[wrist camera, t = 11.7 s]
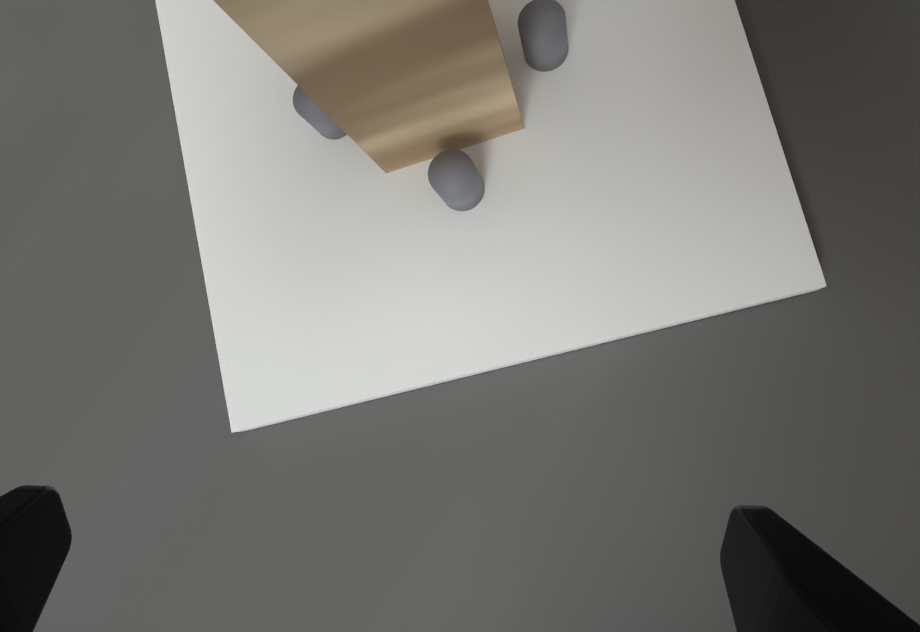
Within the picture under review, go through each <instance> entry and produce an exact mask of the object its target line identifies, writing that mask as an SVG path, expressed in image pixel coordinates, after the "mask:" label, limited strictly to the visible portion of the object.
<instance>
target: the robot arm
mask: <svg viewBox="0 0 920 632" xmlns="http://www.w3.org/2000/svg"><path fill="white" fill-rule="evenodd" d="M71 539H72V535H71V529H70V526H69V523H68V520H67V516H66V513H65V510H64V507H63V504H62V501H61V498H60V495H59V493H58V491H57V490H56V489H55V488H54V487H50V486H33V485H26V486H20V487H17V488H15V489H13V490H12V491H10V492H8V493H6V494H4V495H2V496H0V632H33V630H34V628H35V626H36V624H37V621H38V619H39V617H40V615H41V613H42V610H43V608H44V606H45V604H46V601H47V599H48V597H49V595H50V592H51V590H52V588H53V586H54V583H55V581H56V579H57V577H58V574H59V572H60V570H61V568H62V565H63V563H64V561H65V559H66V557H67V554H68V552H69V549H70V545H71ZM720 562H721V569H722V574H723V578H724V582H725V586H726V590H727V594H728V598H729V602H730V606H731V610H732V614H733V618H734V622H735V626H736V630H737V632H920V625H919V624H918V623H917V622H915V621H914V620H913V619H911V618H910V617H909V616H908V615H906V614H905V613H904V612H902V611H901V610H900V609H899V608H897V607H896V606H895V605H893V604H892V603H891V602H890V601H888V600H887V599H886V598H884V597H883V596H882V595H881V594H879V593H878V592H877V591H875V590H874V589H873V588H872V587H870V586H869V585H868V584H866V583H865V582H864V581H863V580H861V579H860V578H859V577H857V576H856V575H855V574H854V573H852V572H851V571H850V570H848V569H847V568H846V567H845V566H843V565H842V564H841V563H839V562H838V561H837V560H836V559H834V558H833V557H832V556H830V555H829V554H828V553H827V552H825V551H824V550H823V549H821V548H820V547H819V546H818V545H816V544H815V543H814V542H812V541H811V540H810V539H809V538H807V537H806V536H805V535H803V534H802V533H801V532H800V531H798V530H797V529H796V528H794V527H793V526H792V525H791V524H789V523H788V522H787V521H785V520H784V519H783V518H782V517H780V516H779V515H778V514H776V513H775V512H774V511H773V510H771V509H769V508H768V507H765V506H752V505H738V506H736V507H734V508H733V509H732V511H731V513H730V517H729V521H728V524H727V528H726V532H725V536H724V540H723V544H722V548H721V554H720Z"/></svg>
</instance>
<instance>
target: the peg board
mask: <svg viewBox="0 0 920 632" xmlns="http://www.w3.org/2000/svg"><path fill="white" fill-rule="evenodd" d="M155 1H156V6H157V12H158V18H159V23H160V29H161V35H162V40H163V46H164V52H165V57H166V63H167V69H168V74H169V80H170V86H171V91H172V97H173V103H174V108H175V114H176V120H177V125H178V131H179V137H180V142H181V148H182V154H183V159H184V165H185V171H186V176H187V182H188V188H189V193H190V199H191V205H192V210H193V216H194V222H195V227H196V233H197V239H198V244H199V250H200V256H201V261H202V267H203V273H204V278H205V284H206V290H207V295H208V301H209V307H210V312H211V318H212V324H213V329H214V335H215V341H216V346H217V352H218V358H219V363H220V369H221V375H222V380H223V386H224V392H225V397H226V403H227V409H228V414H229V420H230V426H231V431H232V432H240V431H247V430H251V429H255V428H259V427H263V426H267V425H271V424H276V423H280V422H284V421H288V420H292V419H296V418H300V417H304V416H308V415H312V414H316V413H320V412H324V411H328V410H333V409H337V408H341V407H345V406H349V405H353V404H357V403H361V402H365V401H369V400H373V399H377V398H381V397H385V396H389V395H394V394H398V393H402V392H406V391H410V390H414V389H418V388H422V387H426V386H430V385H434V384H438V383H442V382H446V381H451V380H455V379H459V378H463V377H467V376H471V375H475V374H479V373H483V372H487V371H491V370H495V369H499V368H503V367H507V366H512V365H516V364H520V363H524V362H528V361H532V360H536V359H540V358H544V357H548V356H552V355H556V354H560V353H564V352H569V351H573V350H577V349H581V348H585V347H589V346H593V345H597V344H601V343H605V342H609V341H613V340H617V339H621V338H626V337H630V336H634V335H638V334H642V333H646V332H650V331H654V330H658V329H662V328H666V327H670V326H674V325H678V324H682V323H687V322H691V321H695V320H699V319H703V318H707V317H711V316H715V315H719V314H723V313H727V312H731V311H735V310H739V309H744V308H748V307H752V306H756V305H760V304H764V303H768V302H772V301H776V300H780V299H784V298H788V297H792V296H796V295H801V294H805V293H809V292H813V291H816V290H819V289H821V288H823V287H826V286H827V285H826V282H825V279H824V276H823V273H822V270H821V267H820V264H819V261H818V258H817V254H816V251H815V248H814V245H813V242H812V239H811V236H810V233H809V230H808V227H807V223H806V220H805V217H804V214H803V211H802V208H801V205H800V202H799V199H798V196H797V192H796V189H795V186H794V183H793V180H792V177H791V174H790V171H789V168H788V164H787V161H786V158H785V155H784V152H783V149H782V146H781V143H780V140H779V137H778V133H777V130H776V127H775V124H774V121H773V118H772V115H771V112H770V109H769V106H768V102H767V99H766V96H765V93H764V90H763V87H762V84H761V81H760V78H759V75H758V71H757V68H756V65H755V62H754V59H753V56H752V53H751V50H750V47H749V44H748V40H747V37H746V34H745V31H744V28H743V25H742V22H741V19H740V16H739V12H738V9H737V6H736V3H735V0H488V1H489V5H490V8H491V12H492V15H493V19H494V22H495V26H496V29H497V33H498V37H499V40H500V44H501V47H502V51H503V54H504V58H505V61H506V65H507V69H508V72H509V76H510V79H511V83H512V86H513V90H514V94H515V97H516V101H517V104H518V108H519V111H520V115H521V118H522V122H523V126H524V129H521V130H518V131H515V132H512V133H509V134H506V135H503V136H500V137H497V138H494V139H491V140H488V141H485V142H481V143H478V144H475V145H472V146H469V147H466V148H463V149H460V150H457V149H449V150H445V151H442V152H440V153H439V154H438V155H436V156H435V157H434V158H432V159H429V160H426V161H423V162H420V163H417V164H414V165H411V166H408V167H405V168H402V169H399V170H396V171H393V172H390V173H387V174H386V173H385V172H384V171H383V170H382V169H381V168H380V167H379V166H378V165H377V164H376V163H375V162H374V161H373V160H372V159H371V158H370V157H369V156H368V155H367V154H366V153H365V152H364V151H363V150H362V149H361V148H360V147H359V146H358V145H357V144H356V143H355V142H354V141H353V140H352V139H351V138H350V137H349V136H348V135H347V134H346V133H345V132H344V131H343V130H342V129H341V128H340V127H339V126H338V125H337V124H336V123H335V122H334V121H333V120H332V119H331V118H330V117H329V116H328V115H327V114H326V113H325V112H324V111H323V110H322V109H321V108H320V107H319V106H318V105H317V104H316V103H315V102H314V101H313V100H312V99H311V98H310V97H309V96H308V95H307V94H306V93H305V92H304V91H303V90H302V89H301V88H300V87H299V86H298V85H297V84H296V83H295V82H294V81H293V80H292V79H291V78H290V77H289V76H288V75H287V74H286V73H285V72H284V71H283V70H282V69H281V68H280V67H279V66H278V65H277V64H276V63H275V62H274V61H273V60H272V59H271V58H270V57H269V56H268V55H267V54H266V53H265V52H264V51H263V50H262V49H261V48H260V47H259V46H258V45H257V44H256V43H255V42H254V41H253V40H252V39H251V38H250V37H249V36H248V35H247V34H246V33H245V32H244V31H243V30H242V29H241V28H240V27H239V26H238V25H237V24H236V23H235V22H234V21H233V20H232V19H231V18H230V17H229V16H228V15H227V14H226V13H225V12H224V11H223V10H222V9H221V8H220V7H219V6H218V5H217V4H216V3H215V2H214V1H213V0H155Z"/></svg>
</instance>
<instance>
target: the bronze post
mask: <svg viewBox="0 0 920 632" xmlns="http://www.w3.org/2000/svg"><path fill="white" fill-rule="evenodd" d="M213 1H214V2H215V3H216V4H217V5H218V6H219V7H220V8H221V9H222V10H223V11H224V12H225V13H226V14H227V15H228V16H229V17H230V18H231V19H232V20H233V21H234V22H235V23H236V24H237V25H238V26H239V27H240V28H241V29H242V30H243V31H244V32H245V33H246V34H247V35H248V36H249V37H250V38H251V39H252V40H253V41H254V42H255V43H256V44H257V45H258V46H259V47H260V48H261V49H262V50H263V51H264V52H265V53H266V54H267V55H268V56H269V57H270V58H271V59H272V60H273V61H274V62H275V63H276V64H277V65H278V66H279V67H280V68H281V69H282V70H283V71H284V72H285V73H286V74H287V75H288V76H289V77H290V78H291V79H292V80H293V81H294V82H295V83H296V84H297V85H298V86H299V87H300V88H301V89H302V90H303V91H304V92H305V93H306V94H307V95H308V96H309V97H310V98H311V99H312V100H313V101H314V102H315V103H316V104H317V105H318V106H319V107H320V108H321V109H322V110H323V111H324V112H325V113H326V114H327V115H328V116H329V117H330V118H331V119H332V120H333V121H334V122H335V123H336V124H337V125H338V126H339V127H340V128H341V129H342V130H343V131H344V132H345V133H346V134H347V135H348V136H349V137H350V138H351V139H352V140H353V141H354V142H355V143H356V144H357V145H358V146H359V147H360V148H361V149H362V150H363V151H364V152H365V153H366V154H367V155H368V156H369V157H370V158H371V159H372V160H373V161H374V162H375V163H376V164H377V165H378V166H379V167H380V168H381V169H382V170H383V171H384V172H385V173H386V174H387V173H390V172H393V171H396V170H399V169H402V168H405V167H408V166H411V165H414V164H417V163H420V162H423V161H426V160H429V159H432V158H434V157H435V156H436V155H438V154H439V153H440V152H442V151H445V150H449V149H457V150H460V149H463V148H466V147H469V146H472V145H475V144H478V143H481V142H485V141H488V140H491V139H494V138H497V137H500V136H503V135H506V134H509V133H512V132H515V131H518V130H521V129H524V126H523V122H522V118H521V115H520V111H519V108H518V104H517V101H516V97H515V94H514V90H513V86H512V83H511V79H510V76H509V72H508V69H507V65H506V61H505V58H504V54H503V51H502V47H501V44H500V40H499V37H498V33H497V29H496V26H495V22H494V19H493V15H492V12H491V8H490V5H489V1H488V0H213Z"/></svg>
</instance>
